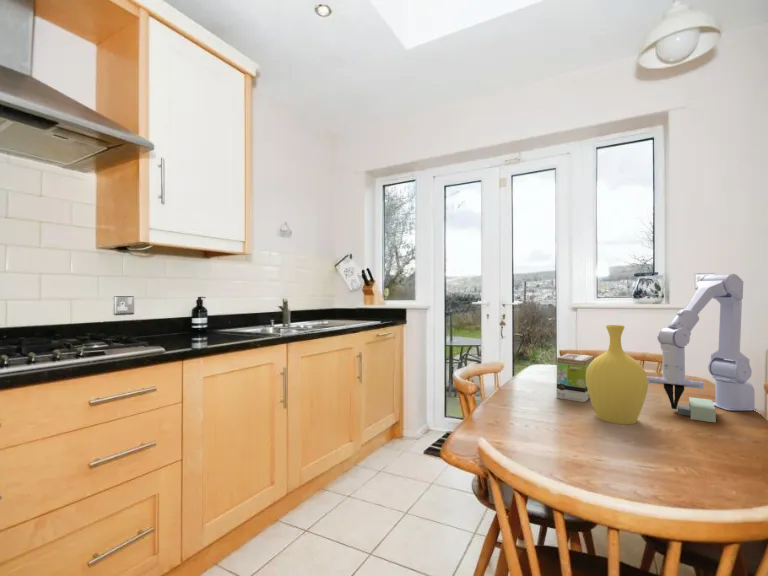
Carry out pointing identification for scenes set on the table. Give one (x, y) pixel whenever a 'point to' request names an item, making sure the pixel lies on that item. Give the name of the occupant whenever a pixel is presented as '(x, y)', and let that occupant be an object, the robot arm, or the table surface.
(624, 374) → the vase
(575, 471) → the table surface
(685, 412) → the gray block
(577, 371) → the tea box
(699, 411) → the pale green block
